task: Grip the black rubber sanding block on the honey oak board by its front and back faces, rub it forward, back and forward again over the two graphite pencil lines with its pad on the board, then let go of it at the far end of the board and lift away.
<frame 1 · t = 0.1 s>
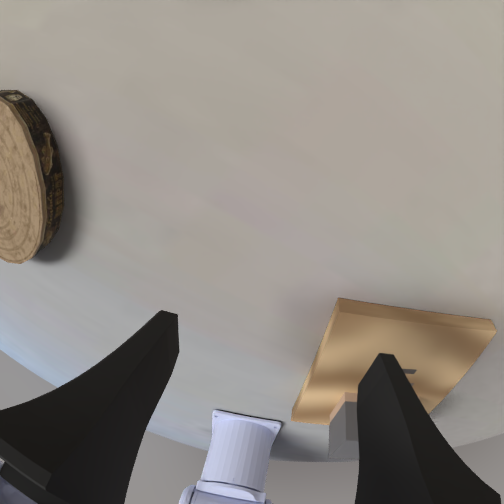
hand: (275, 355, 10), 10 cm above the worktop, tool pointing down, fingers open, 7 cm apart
sanding block: (374, 406, 25), point 1 cm above the worktop, touching oak board
oak board: (387, 374, 24), on the worktop
wood log slice: (11, 172, 20), on the worktop
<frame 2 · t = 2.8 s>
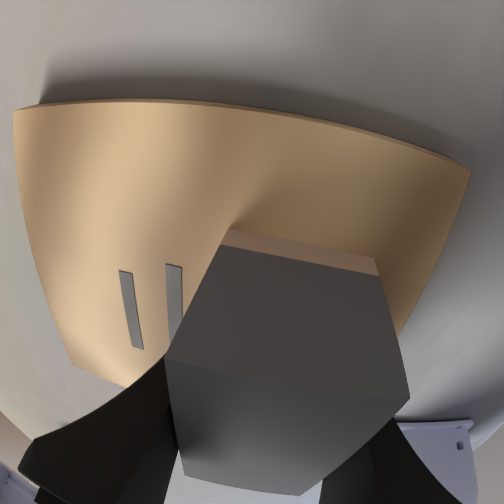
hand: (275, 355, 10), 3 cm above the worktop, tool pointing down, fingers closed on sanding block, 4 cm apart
sanding block: (277, 335, 11), point 1 cm above the worktop, touching gripper, oak board
oak board: (198, 291, 13), on the worktop
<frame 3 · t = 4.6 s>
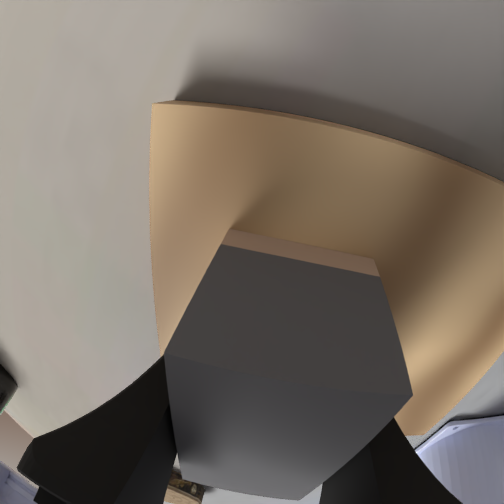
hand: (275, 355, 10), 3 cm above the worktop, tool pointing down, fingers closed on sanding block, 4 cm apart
supplement bottle: (0, 369, 27), on the worktop
sanding block: (277, 338, 11), point 2 cm above the worktop, touching gripper
oak board: (353, 322, 12), on the worktop
wood log slice: (152, 470, 33), on the worktop
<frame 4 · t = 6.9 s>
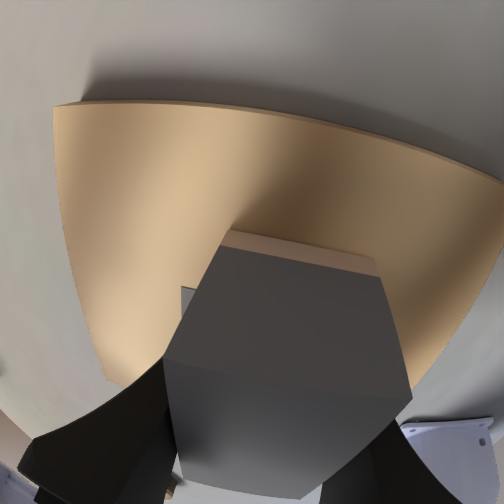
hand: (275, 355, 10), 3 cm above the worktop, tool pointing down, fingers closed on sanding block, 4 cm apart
sanding block: (277, 338, 11), point 2 cm above the worktop, touching gripper
oak board: (259, 305, 12), on the worktop
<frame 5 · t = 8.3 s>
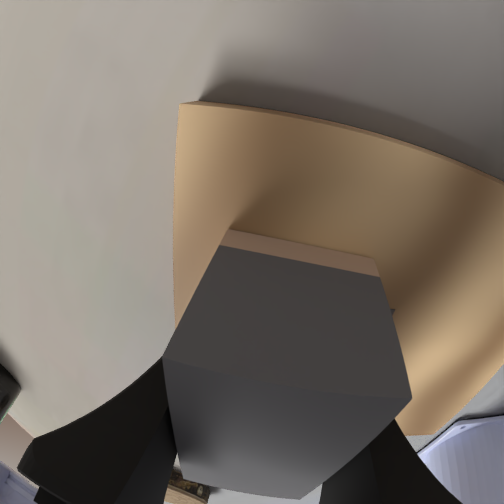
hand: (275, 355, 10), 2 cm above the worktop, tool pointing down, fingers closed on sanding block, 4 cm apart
supplement bottle: (3, 371, 27), on the worktop
sanding block: (277, 338, 11), point 2 cm above the worktop, touching gripper
oak board: (371, 325, 12), on the worktop
wood log slice: (157, 472, 33), on the worktop
when the fingers open (2 cm above the worktop, at t = 9.1 s): sanding block stays where it is, resting on oak board.
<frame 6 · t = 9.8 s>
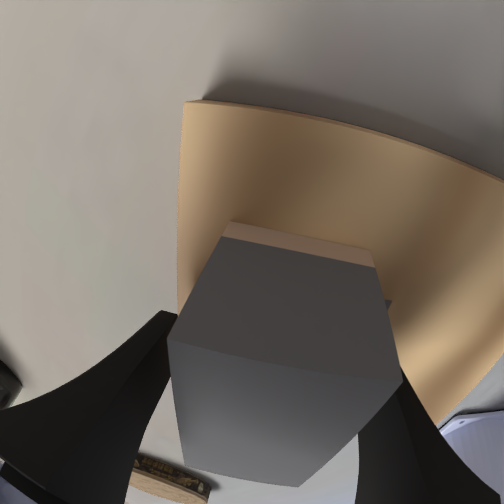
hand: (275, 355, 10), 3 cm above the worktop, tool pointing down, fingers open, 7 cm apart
supplement bottle: (5, 369, 27), on the worktop
sanding block: (277, 327, 11), point 2 cm above the worktop, touching oak board
oak board: (369, 317, 12), on the worktop
wood log slice: (157, 469, 33), on the worktop
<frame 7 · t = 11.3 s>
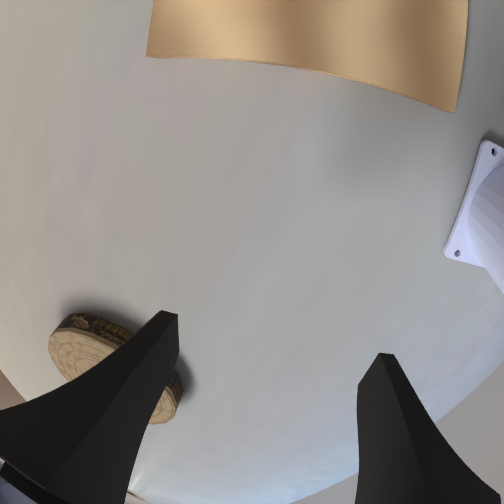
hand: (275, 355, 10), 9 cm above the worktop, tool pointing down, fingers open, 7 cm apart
wood log slice: (118, 363, 30), on the worktop
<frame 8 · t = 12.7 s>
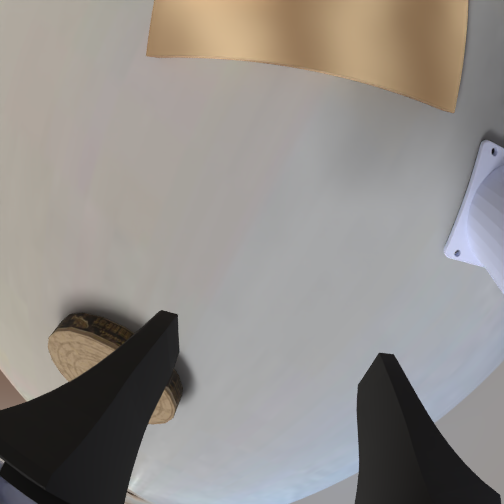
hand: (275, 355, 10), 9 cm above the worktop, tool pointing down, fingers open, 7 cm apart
wood log slice: (118, 363, 30), on the worktop
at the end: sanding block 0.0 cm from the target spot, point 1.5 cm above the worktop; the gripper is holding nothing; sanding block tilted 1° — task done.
